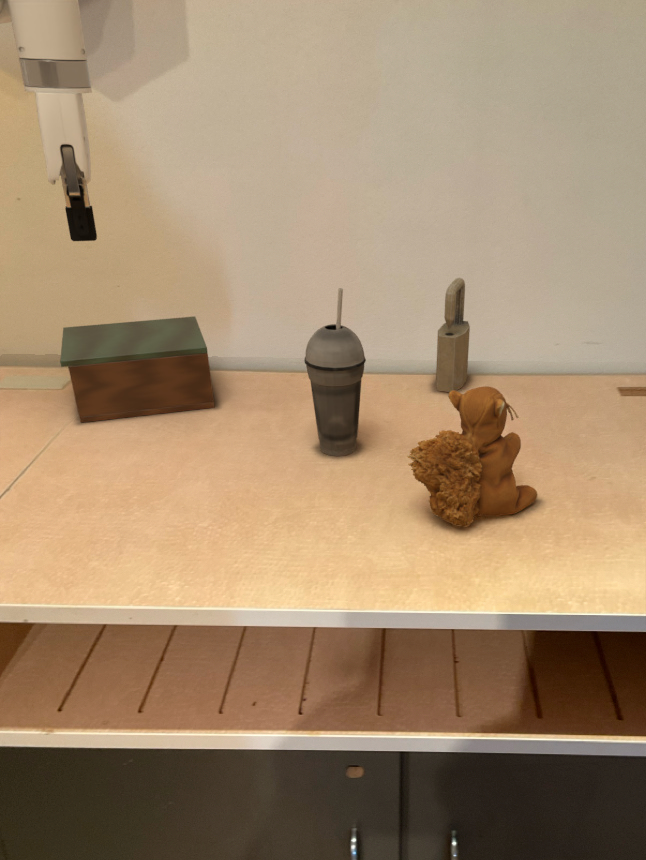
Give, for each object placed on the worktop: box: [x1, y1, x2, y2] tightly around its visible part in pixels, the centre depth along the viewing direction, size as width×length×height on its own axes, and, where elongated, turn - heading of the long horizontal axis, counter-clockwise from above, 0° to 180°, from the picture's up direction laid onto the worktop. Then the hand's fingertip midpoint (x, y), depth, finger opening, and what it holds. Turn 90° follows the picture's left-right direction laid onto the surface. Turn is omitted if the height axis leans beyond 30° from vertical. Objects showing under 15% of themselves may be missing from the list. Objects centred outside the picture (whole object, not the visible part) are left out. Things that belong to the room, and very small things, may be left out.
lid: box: [59, 315, 208, 368], centre depth 109 cm, size 18×15×1 cm
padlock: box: [435, 277, 471, 393], centre depth 115 cm, size 4×8×15 cm, turn 163°
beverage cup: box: [303, 288, 367, 457], centre depth 94 cm, size 7×7×20 cm
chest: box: [67, 352, 215, 423], centre depth 112 cm, size 18×15×8 cm
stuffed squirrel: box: [406, 385, 538, 528], centre depth 84 cm, size 10×14×13 cm
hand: (84, 239), depth 103 cm, fingers closed
